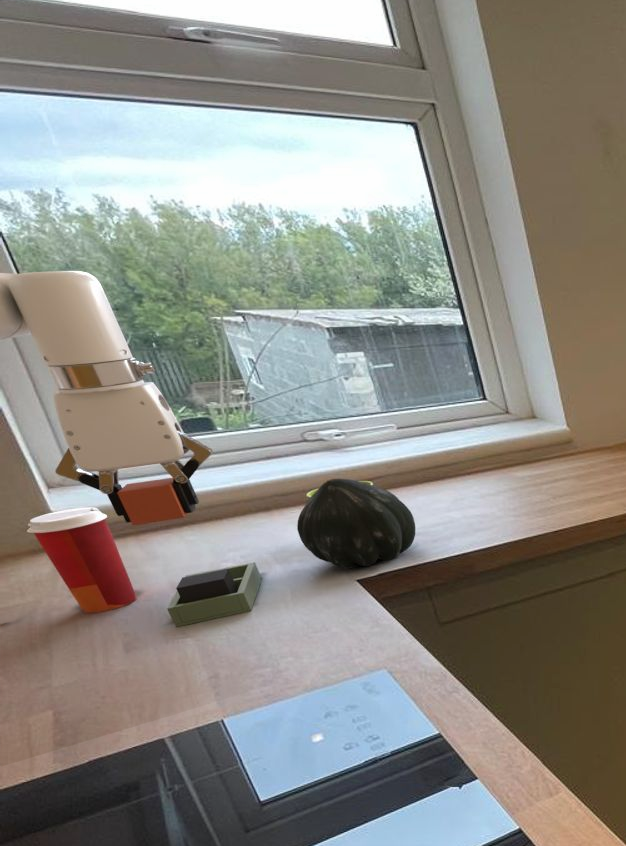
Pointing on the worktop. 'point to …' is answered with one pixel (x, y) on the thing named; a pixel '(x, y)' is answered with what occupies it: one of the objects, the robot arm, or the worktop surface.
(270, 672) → the worktop surface
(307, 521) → the squash
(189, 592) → the pad charcoal
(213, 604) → the green tray
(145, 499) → the pad terracotta
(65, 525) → the paper cup
